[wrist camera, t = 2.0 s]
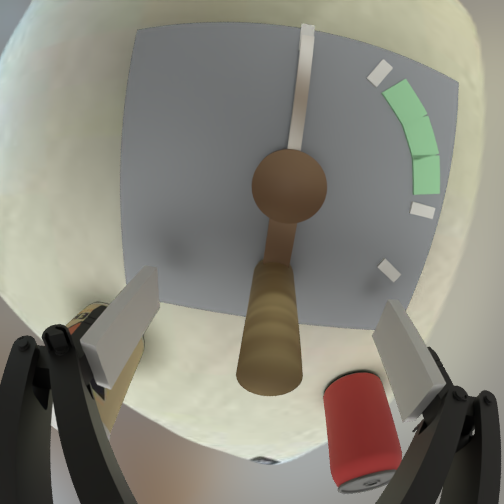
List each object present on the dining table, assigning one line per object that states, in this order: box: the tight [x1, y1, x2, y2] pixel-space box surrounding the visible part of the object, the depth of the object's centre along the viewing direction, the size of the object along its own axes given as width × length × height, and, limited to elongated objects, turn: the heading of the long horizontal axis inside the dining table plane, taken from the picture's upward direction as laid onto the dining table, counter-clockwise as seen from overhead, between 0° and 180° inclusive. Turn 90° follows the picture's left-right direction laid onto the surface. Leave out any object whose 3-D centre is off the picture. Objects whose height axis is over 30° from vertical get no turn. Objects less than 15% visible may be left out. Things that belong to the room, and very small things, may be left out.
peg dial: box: [236, 35, 327, 396], centre depth 11 cm, size 16×4×9 cm, turn 173°
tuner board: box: [120, 22, 459, 330], centre depth 16 cm, size 20×22×2 cm
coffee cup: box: [51, 302, 144, 440], centre depth 19 cm, size 9×9×12 cm
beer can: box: [323, 372, 402, 494], centre depth 20 cm, size 7×7×12 cm
